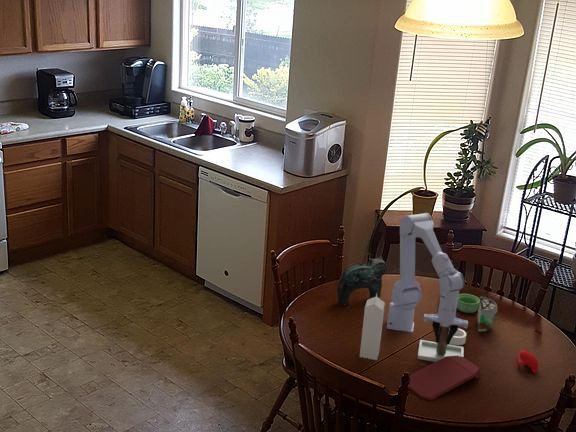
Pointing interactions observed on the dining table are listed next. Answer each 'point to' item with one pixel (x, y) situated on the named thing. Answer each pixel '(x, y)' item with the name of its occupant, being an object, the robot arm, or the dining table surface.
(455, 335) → the cup
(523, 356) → the red helmet
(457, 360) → the dark red slab
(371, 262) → the ceramic cat
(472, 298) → the ramekin
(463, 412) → the dining table surface
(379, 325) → the milk
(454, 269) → the robot arm
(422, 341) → the tray
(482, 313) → the food container
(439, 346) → the dowel
